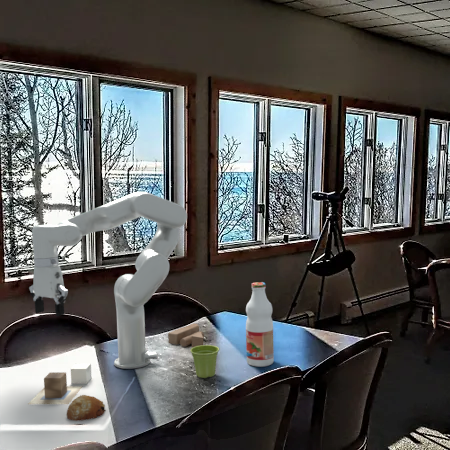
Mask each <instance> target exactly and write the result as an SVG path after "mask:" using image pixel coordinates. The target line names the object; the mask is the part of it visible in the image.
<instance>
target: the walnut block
mask: <svg viewBox="0 0 450 450" xmlns="http://www.w3.org/2000/svg"><path fill="white" fill-rule="evenodd" d="M67 379H68V378H67V372H65V371H64V372H63V371H61V372H52V371H51V372H49V373H48V374H47V375H46V376H45V377H44V378H43V386H44V387H43V388H44V390H45V398H62V397H63V396H64V395H65V394H66V392H67V386H68V384H67Z"/></svg>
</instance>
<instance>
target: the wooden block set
mask: <svg viewBox="0 0 450 450" xmlns="http://www.w3.org/2000/svg"><path fill="white" fill-rule="evenodd" d="M167 335H168V336H167V337H168V339H167V340H168V344H172V345H177V346H178V345H180V346H181V347H183V348H185V347H188V346H190V345H191V348H193V347H196V346H201V345H204V338H205V333H204V332H203V331H200V326H199V324H198V323H191V324H189V325H187V326H184V327H180V328H177V329H175V330H173V331H170V332H168V333H167Z"/></svg>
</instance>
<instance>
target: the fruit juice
mask: <svg viewBox="0 0 450 450" xmlns="http://www.w3.org/2000/svg"><path fill="white" fill-rule="evenodd" d="M266 287H267V285H266V283H265V282H263V281H261V282H252V283H251V290H252V291H251V292H252V293H251V297H250V299H249V301H248V302H247V304H246V307H245V313H246V317H247V319H246V321H245V334H246V335H245V341H246V342H245V344H246V351H245V352H246V362H247V364H248V365H249V366H253V367H259V368H260V367H261V368H262V367H268V366H270V365H273V363H274V359H275V357H274V356H275V355H274V351H275V350H274V322H273V321H274V320H273V318H272V314H273V304H272V303H271V302H270V301H269V299H268V297H267V294H266Z"/></svg>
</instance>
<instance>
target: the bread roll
mask: <svg viewBox="0 0 450 450" xmlns="http://www.w3.org/2000/svg"><path fill="white" fill-rule="evenodd" d="M68 405H69V406H68V408H67V409H66V417H67V420H70V421H75V422H77V421H79V422H80V421H87V420H88V421H89V420H91V419H96V418H99V417H102V416H103V414H104V413H105V412H106V411H107V410H106V409H105V404H104V402H103V400H101V399H98V398H96V397H95V396H90V395H86V394H80V395H79V396H77V397H76V398H75V397H74V398H73V399H72V400H71V402H70V403H69V404H68ZM75 425H76V426H77V425H78V426H83V425H84V423H75Z"/></svg>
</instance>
